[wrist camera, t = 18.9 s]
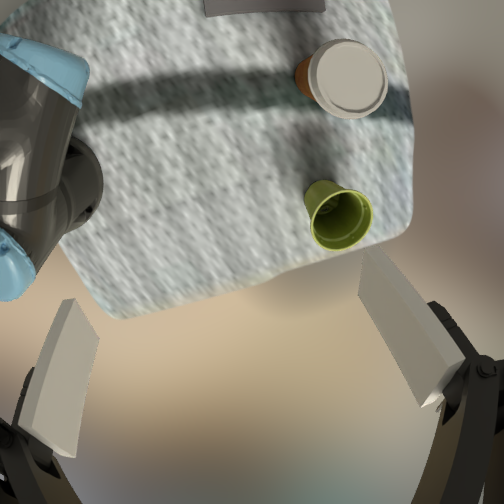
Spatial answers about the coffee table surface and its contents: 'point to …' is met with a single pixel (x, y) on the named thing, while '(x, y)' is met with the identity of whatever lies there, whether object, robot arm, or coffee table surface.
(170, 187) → the coffee table surface
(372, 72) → the disposable coffee cup
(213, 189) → the coffee table surface
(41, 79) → the robot arm
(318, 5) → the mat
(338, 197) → the plant pot
